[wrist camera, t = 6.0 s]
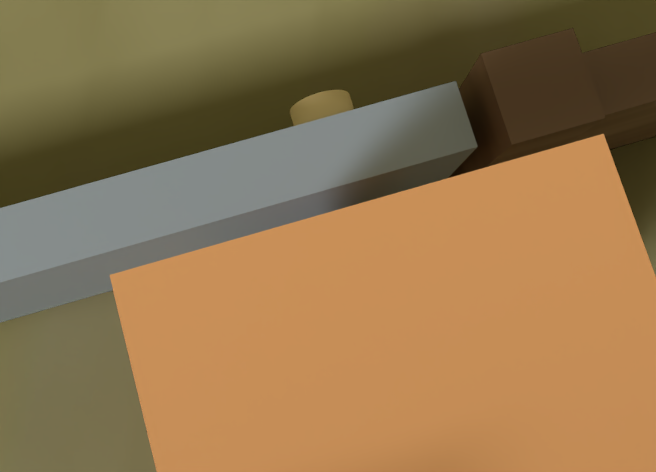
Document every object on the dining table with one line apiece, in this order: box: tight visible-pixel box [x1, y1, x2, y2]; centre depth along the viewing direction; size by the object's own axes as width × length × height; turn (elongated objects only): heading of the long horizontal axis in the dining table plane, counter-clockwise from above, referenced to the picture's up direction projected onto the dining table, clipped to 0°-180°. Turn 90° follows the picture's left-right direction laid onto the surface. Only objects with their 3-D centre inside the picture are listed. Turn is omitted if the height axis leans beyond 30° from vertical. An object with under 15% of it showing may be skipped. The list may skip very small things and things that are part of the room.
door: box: [0, 81, 478, 322], centre depth 15 cm, size 3×21×6 cm, turn 107°
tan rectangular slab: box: [110, 134, 656, 472], centre depth 10 cm, size 6×4×11 cm
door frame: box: [448, 28, 656, 178], centre depth 15 cm, size 2×38×7 cm, turn 107°
